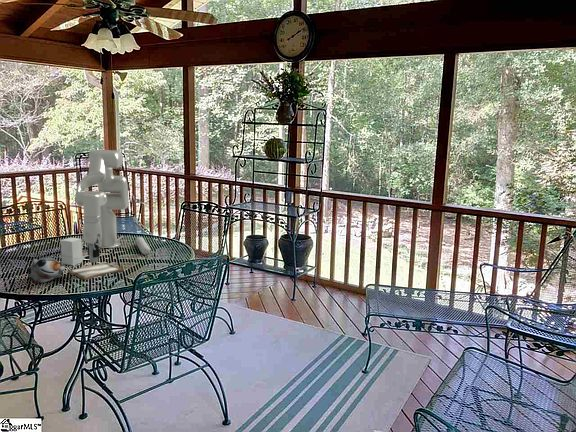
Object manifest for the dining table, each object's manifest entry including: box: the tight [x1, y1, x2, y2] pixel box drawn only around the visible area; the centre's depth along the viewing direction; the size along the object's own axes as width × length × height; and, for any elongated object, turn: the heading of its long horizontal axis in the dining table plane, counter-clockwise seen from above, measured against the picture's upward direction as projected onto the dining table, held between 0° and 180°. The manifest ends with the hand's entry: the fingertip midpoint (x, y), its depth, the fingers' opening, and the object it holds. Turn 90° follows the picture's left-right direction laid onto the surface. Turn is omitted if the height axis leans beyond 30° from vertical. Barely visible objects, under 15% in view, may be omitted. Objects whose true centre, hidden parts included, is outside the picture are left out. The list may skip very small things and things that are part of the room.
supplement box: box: [60, 237, 84, 266], centre depth 250 cm, size 7×7×13 cm
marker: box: [88, 242, 99, 263], centre depth 235 cm, size 4×4×12 cm
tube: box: [134, 236, 151, 256], centre depth 281 cm, size 5×5×25 cm
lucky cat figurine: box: [27, 256, 66, 284], centre depth 223 cm, size 15×12×14 cm
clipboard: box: [67, 262, 125, 281], centre depth 238 cm, size 16×20×2 cm
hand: (93, 255), depth 236 cm, fingers closed on marker, 4 cm apart
